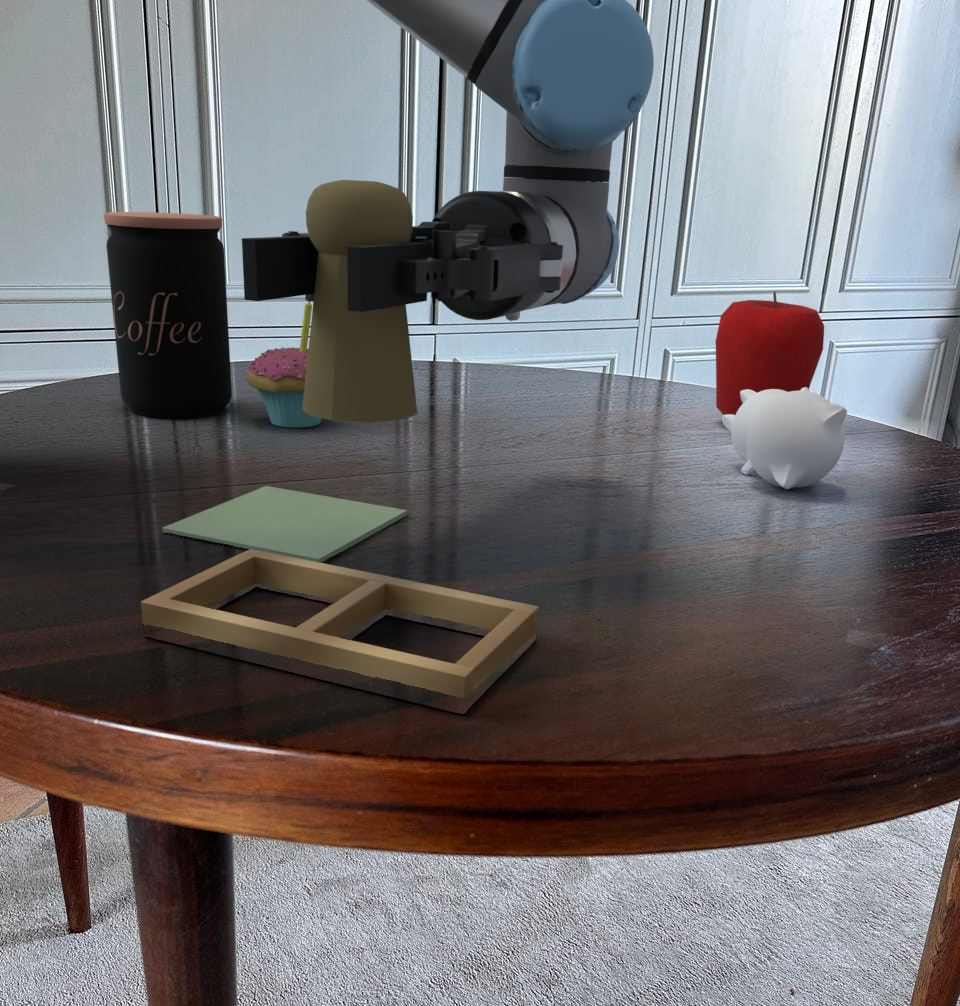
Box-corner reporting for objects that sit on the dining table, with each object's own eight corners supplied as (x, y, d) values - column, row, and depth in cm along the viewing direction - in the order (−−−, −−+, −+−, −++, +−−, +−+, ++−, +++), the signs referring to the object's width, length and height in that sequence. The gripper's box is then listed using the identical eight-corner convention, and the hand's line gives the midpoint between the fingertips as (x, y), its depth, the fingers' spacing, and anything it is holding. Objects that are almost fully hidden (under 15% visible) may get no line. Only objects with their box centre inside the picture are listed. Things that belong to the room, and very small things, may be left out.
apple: (702, 431, 104) (721, 291, 98) (706, 412, 113) (724, 283, 108) (810, 442, 102) (835, 299, 96) (805, 421, 111) (828, 290, 105)
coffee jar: (99, 412, 100) (78, 212, 92) (161, 394, 109) (146, 211, 102) (197, 424, 97) (183, 219, 90) (252, 404, 106) (243, 217, 99)
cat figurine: (754, 354, 89) (817, 373, 78) (838, 421, 93) (910, 449, 82) (692, 438, 91) (745, 469, 80) (777, 501, 95) (839, 538, 84)
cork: (361, 394, 58) (361, 180, 53) (441, 411, 54) (448, 184, 50) (277, 407, 53) (269, 176, 49) (358, 427, 50) (357, 180, 45)
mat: (162, 533, 68) (161, 527, 67) (266, 490, 78) (266, 485, 78) (319, 564, 63) (318, 558, 63) (407, 515, 74) (407, 510, 73)
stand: (143, 637, 52) (140, 601, 52) (251, 580, 61) (250, 548, 60) (463, 716, 46) (465, 676, 45) (536, 640, 54) (539, 605, 54)
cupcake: (352, 419, 102) (351, 292, 97) (317, 436, 95) (314, 300, 90) (273, 410, 104) (268, 286, 99) (233, 427, 96) (225, 293, 92)
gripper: (627, 328, 64) (477, 380, 45) (377, 303, 71) (150, 340, 51) (640, 198, 61) (485, 194, 42) (377, 185, 68) (136, 175, 48)
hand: (301, 274), depth 47 cm, fingers closed on cork, 5 cm apart
